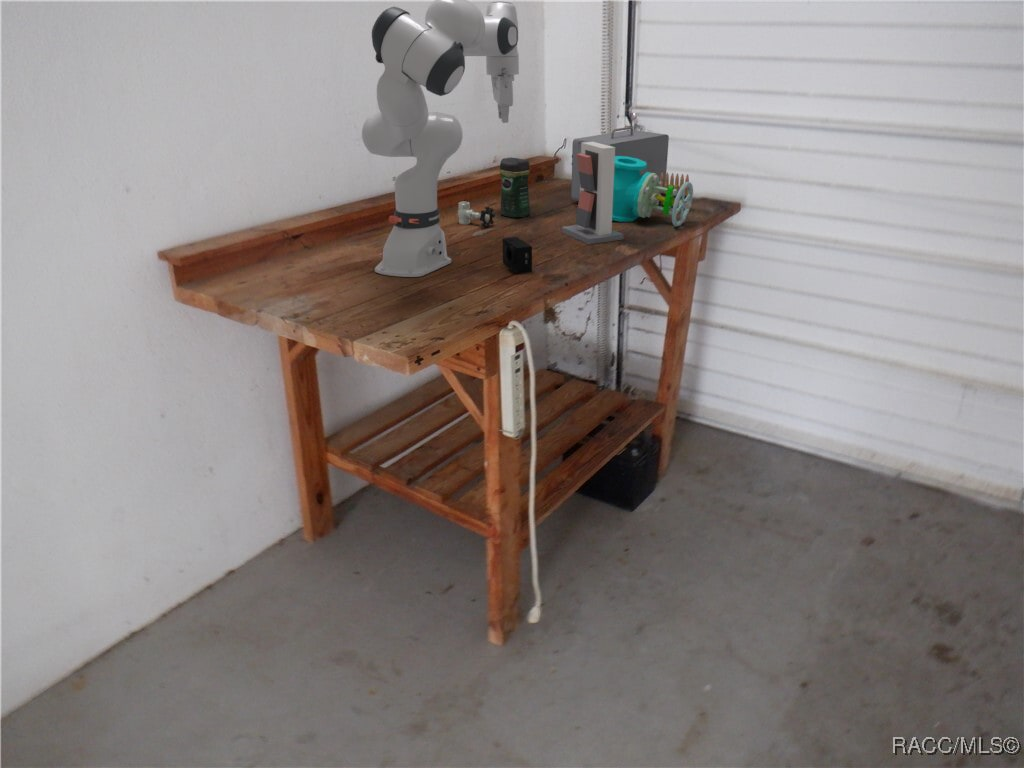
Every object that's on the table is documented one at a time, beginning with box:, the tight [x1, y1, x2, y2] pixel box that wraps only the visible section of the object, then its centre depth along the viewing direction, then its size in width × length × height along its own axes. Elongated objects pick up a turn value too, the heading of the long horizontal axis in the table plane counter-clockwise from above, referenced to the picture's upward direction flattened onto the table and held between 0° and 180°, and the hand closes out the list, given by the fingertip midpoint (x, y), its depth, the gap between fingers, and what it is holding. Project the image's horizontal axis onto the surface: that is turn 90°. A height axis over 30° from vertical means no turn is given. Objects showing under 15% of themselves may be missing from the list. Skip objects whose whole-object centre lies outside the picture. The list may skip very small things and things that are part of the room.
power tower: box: [561, 142, 624, 245], centre depth 241 cm, size 12×16×27 cm
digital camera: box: [502, 236, 533, 274], centre depth 217 cm, size 10×5×7 cm, turn 22°
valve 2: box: [612, 156, 694, 228], centre depth 259 cm, size 14×18×30 cm
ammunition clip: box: [657, 171, 690, 210], centre depth 275 cm, size 11×2×12 cm, turn 60°
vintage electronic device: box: [570, 126, 670, 202], centre depth 285 cm, size 32×18×25 cm, turn 133°
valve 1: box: [457, 201, 496, 228], centre depth 259 cm, size 7×7×12 cm
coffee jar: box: [499, 156, 531, 219], centre depth 267 cm, size 10×8×19 cm
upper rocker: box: [577, 153, 595, 191], centre depth 237 cm, size 1×6×10 cm, turn 26°
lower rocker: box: [574, 190, 595, 228], centre depth 242 cm, size 1×6×10 cm, turn 27°
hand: (503, 120), depth 228 cm, fingers open, 8 cm apart
